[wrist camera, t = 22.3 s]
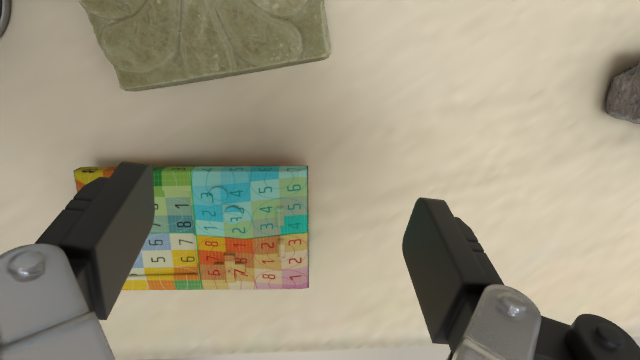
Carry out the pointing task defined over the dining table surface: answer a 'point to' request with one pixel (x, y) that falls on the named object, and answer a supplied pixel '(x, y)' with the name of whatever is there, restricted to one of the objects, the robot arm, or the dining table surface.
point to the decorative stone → (625, 95)
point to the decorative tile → (205, 38)
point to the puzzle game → (222, 228)
